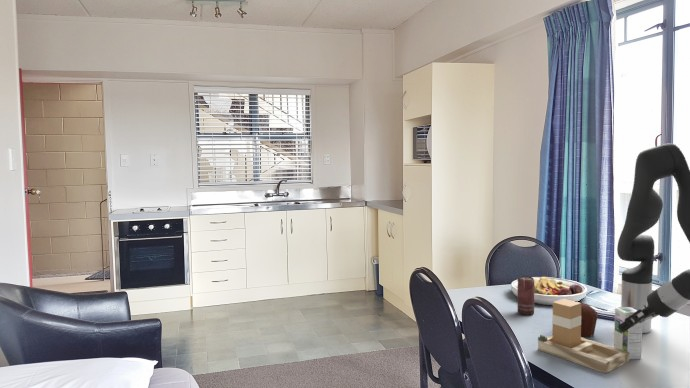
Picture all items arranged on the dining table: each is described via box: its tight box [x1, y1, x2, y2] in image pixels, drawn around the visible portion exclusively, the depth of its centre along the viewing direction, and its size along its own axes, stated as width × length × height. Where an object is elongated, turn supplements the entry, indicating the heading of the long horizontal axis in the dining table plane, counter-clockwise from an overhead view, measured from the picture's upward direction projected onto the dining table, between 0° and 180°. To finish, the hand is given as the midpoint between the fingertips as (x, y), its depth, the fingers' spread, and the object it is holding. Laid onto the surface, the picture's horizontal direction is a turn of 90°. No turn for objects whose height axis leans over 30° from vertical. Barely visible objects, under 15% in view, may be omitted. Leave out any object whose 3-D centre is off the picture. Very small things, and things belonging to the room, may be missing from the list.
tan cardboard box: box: [551, 299, 582, 348], centre depth 165 cm, size 6×6×15 cm
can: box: [517, 276, 535, 317], centre depth 201 cm, size 6×6×14 cm
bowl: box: [510, 276, 588, 306], centre depth 223 cm, size 30×30×8 cm
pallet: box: [537, 334, 630, 374], centre depth 161 cm, size 13×22×5 cm, turn 34°
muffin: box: [580, 302, 599, 338], centre depth 180 cm, size 12×11×10 cm
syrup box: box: [613, 307, 643, 360], centre depth 160 cm, size 6×6×14 cm
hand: (627, 326), depth 159 cm, fingers open, 8 cm apart
